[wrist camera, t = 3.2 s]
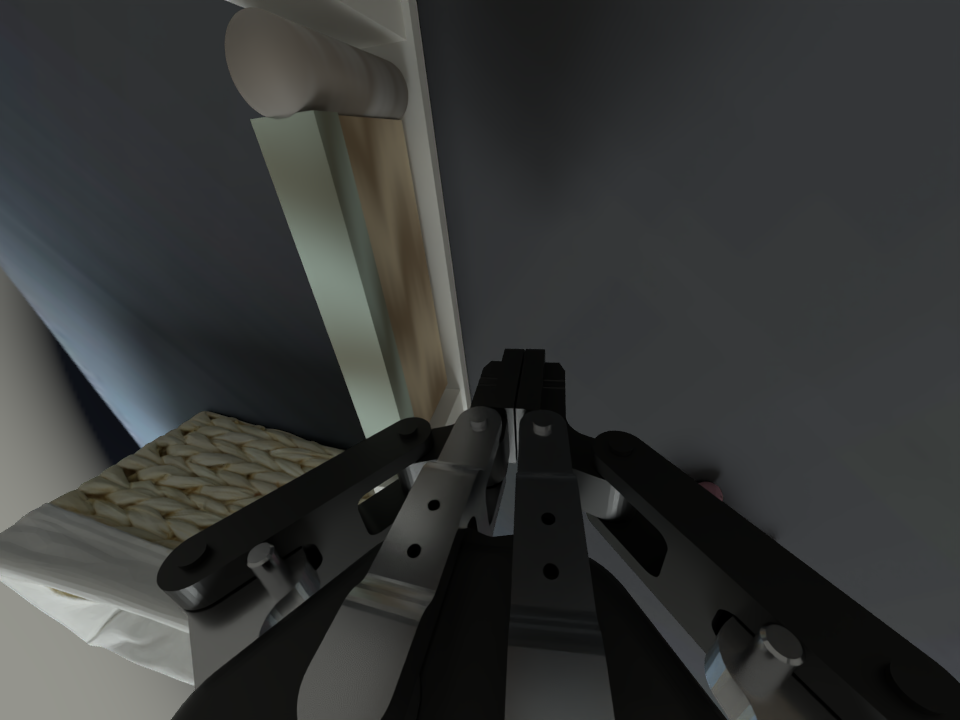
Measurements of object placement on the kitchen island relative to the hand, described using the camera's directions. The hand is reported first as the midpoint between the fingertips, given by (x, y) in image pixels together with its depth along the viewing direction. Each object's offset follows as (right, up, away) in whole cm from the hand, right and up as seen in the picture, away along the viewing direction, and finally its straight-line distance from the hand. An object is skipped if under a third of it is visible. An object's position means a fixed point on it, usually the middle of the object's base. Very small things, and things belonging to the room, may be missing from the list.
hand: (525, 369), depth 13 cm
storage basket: (-18, -12, +21) cm, 30 cm away
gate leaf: (-5, +5, +5) cm, 9 cm away
